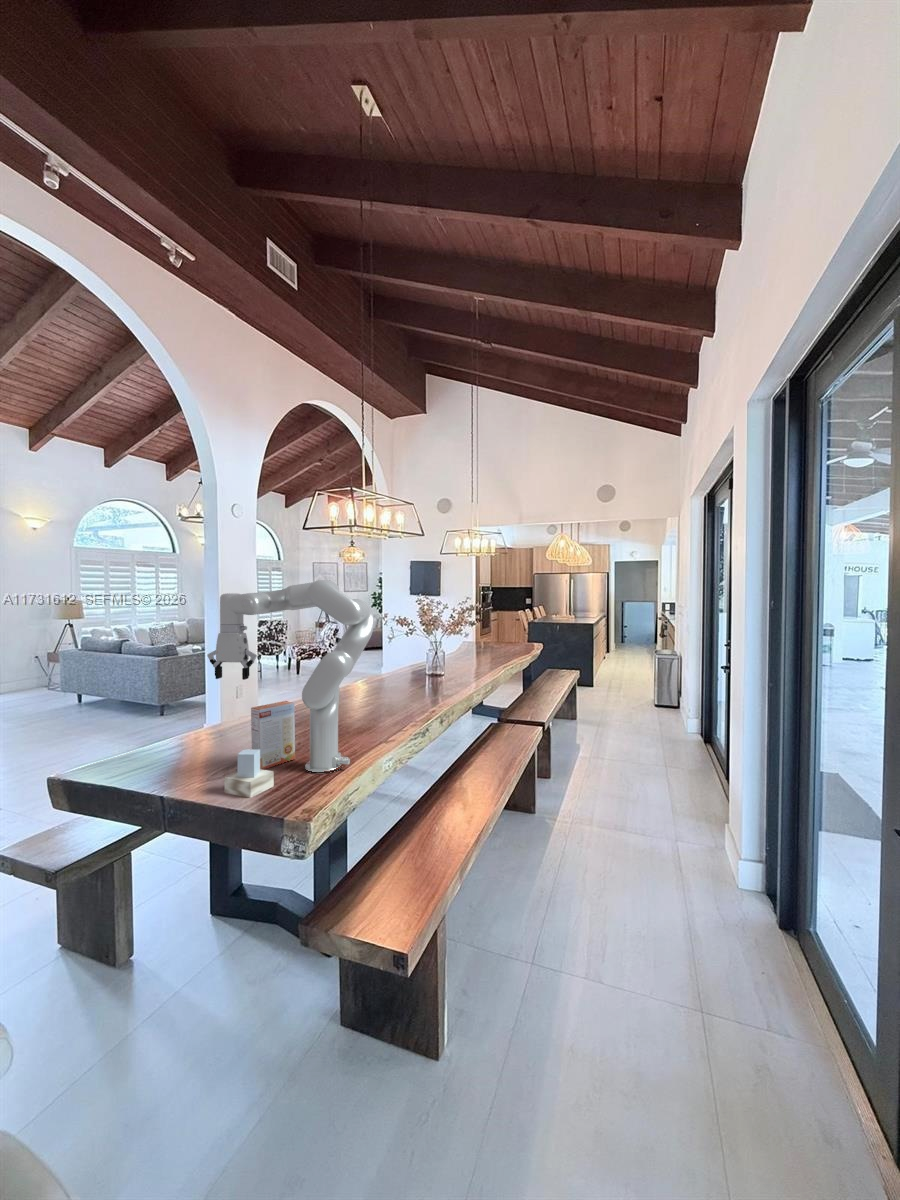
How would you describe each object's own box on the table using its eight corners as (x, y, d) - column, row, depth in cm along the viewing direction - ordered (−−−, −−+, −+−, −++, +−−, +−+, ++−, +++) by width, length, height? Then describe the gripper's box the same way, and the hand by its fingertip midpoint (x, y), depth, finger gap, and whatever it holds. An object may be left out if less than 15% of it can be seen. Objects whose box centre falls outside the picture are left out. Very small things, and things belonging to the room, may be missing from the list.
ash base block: (273, 787, 167) (273, 771, 167) (250, 799, 158) (250, 782, 158) (248, 782, 171) (248, 767, 171) (224, 793, 161) (224, 777, 161)
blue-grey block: (260, 771, 166) (260, 749, 166) (254, 777, 161) (254, 754, 161) (244, 771, 166) (244, 749, 166) (237, 777, 161) (237, 754, 161)
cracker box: (285, 757, 195) (285, 700, 195) (295, 760, 192) (295, 702, 191) (250, 766, 185) (250, 706, 184) (260, 770, 181) (259, 709, 180)
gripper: (260, 628, 187) (261, 677, 188) (214, 628, 189) (214, 676, 189) (250, 630, 180) (250, 681, 180) (201, 629, 182) (202, 680, 182)
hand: (232, 678), depth 185 cm, fingers open, 9 cm apart
